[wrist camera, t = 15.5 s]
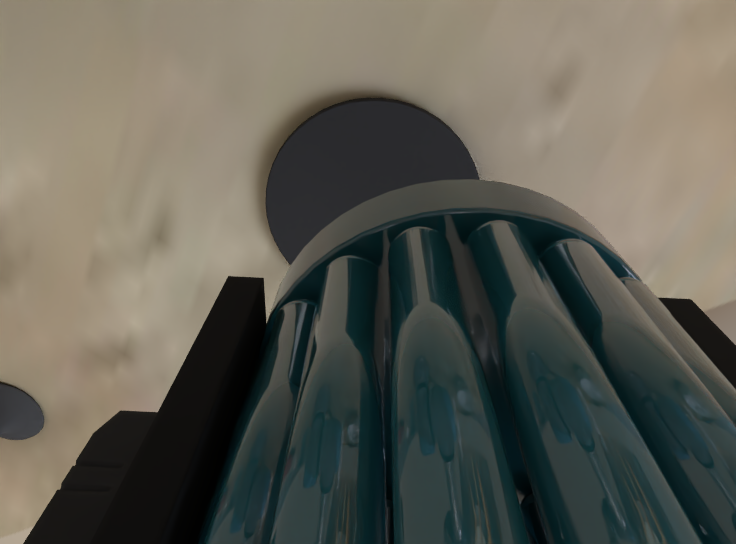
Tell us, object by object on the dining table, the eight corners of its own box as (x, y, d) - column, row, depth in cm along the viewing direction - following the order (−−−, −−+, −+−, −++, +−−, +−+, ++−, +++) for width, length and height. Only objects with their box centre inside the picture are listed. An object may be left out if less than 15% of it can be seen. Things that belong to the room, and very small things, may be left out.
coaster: (264, 89, 24) (261, 91, 24) (498, 105, 24) (500, 108, 24) (270, 289, 29) (268, 295, 29) (462, 302, 30) (464, 308, 29)
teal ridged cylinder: (609, 465, 14) (300, 480, 15) (665, 159, 10) (234, 196, 11) (898, 1077, 6) (206, 1060, 7) (1684, 806, 2) (-186, 816, 3)
